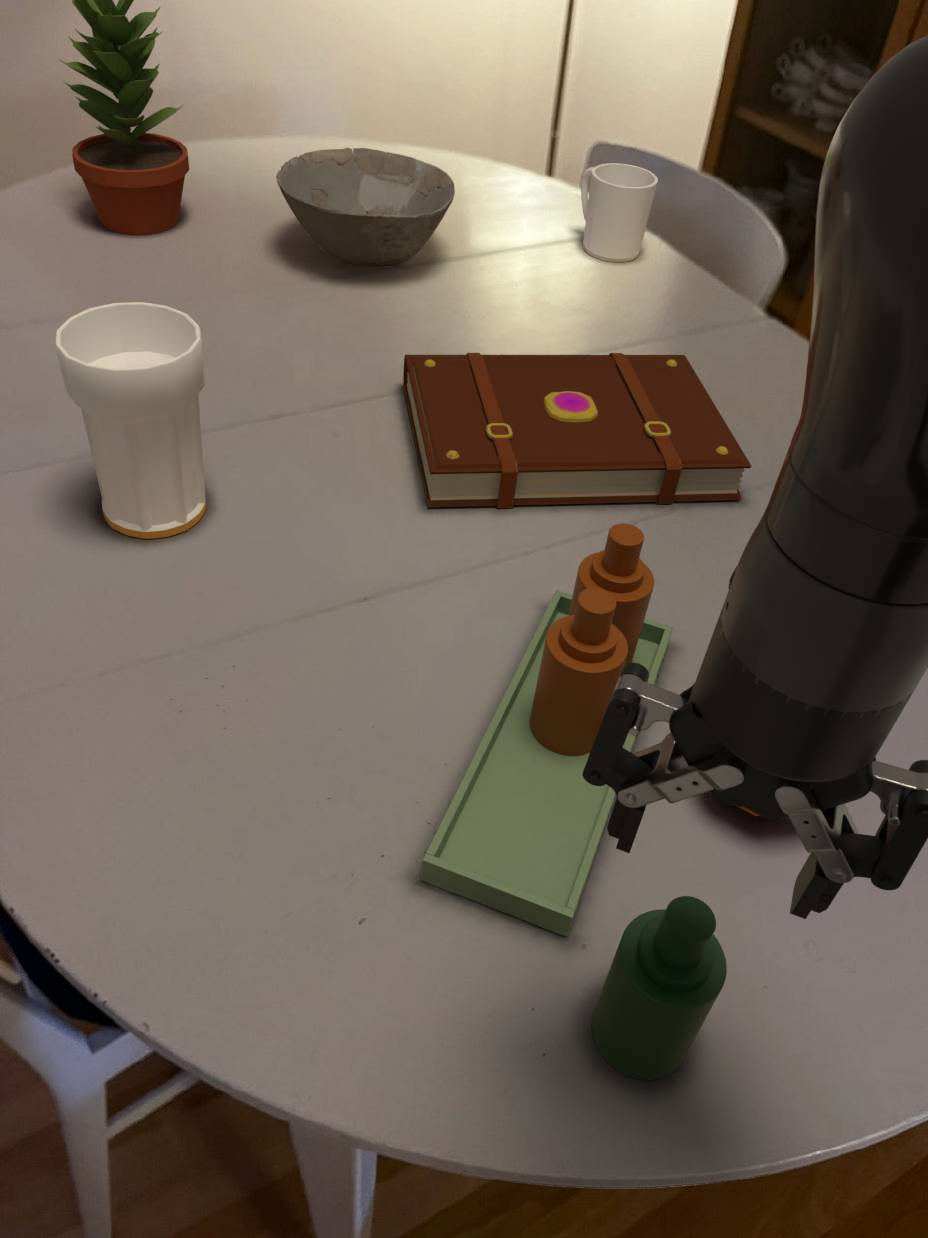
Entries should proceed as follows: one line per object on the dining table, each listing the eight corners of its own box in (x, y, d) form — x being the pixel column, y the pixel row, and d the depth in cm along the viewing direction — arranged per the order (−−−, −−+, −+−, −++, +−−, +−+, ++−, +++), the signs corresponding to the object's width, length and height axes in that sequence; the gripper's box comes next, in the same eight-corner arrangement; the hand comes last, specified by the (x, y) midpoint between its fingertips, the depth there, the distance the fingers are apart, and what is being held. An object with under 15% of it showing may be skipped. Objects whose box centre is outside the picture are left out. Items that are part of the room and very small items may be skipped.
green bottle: (706, 1058, 60) (770, 947, 51) (622, 1096, 58) (673, 987, 49) (655, 972, 64) (706, 855, 55) (574, 1005, 62) (614, 889, 53)
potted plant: (214, 207, 143) (193, -44, 122) (166, 249, 132) (134, -18, 111) (115, 188, 144) (78, -62, 124) (59, 229, 134) (9, -38, 113)
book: (740, 502, 102) (754, 461, 98) (428, 510, 97) (431, 467, 93) (673, 383, 118) (683, 344, 114) (402, 384, 113) (404, 343, 109)
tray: (566, 937, 65) (572, 918, 64) (420, 880, 67) (422, 859, 66) (667, 647, 86) (673, 626, 84) (552, 610, 88) (556, 589, 86)
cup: (104, 558, 88) (67, 379, 76) (79, 484, 95) (43, 310, 83) (233, 532, 92) (218, 358, 80) (200, 462, 99) (182, 293, 87)
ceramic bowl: (403, 311, 125) (407, 231, 118) (245, 262, 131) (240, 183, 124) (478, 249, 140) (486, 174, 133) (333, 207, 146) (333, 134, 139)
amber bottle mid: (619, 744, 77) (656, 618, 68) (551, 765, 75) (580, 638, 66) (582, 690, 80) (613, 564, 72) (516, 708, 78) (539, 582, 70)
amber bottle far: (644, 674, 82) (681, 550, 73) (581, 692, 80) (612, 566, 71) (608, 627, 86) (640, 503, 77) (548, 642, 84) (573, 517, 75)
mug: (654, 252, 144) (670, 178, 137) (618, 269, 139) (633, 193, 132) (592, 226, 149) (604, 153, 142) (555, 242, 144) (566, 167, 137)
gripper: (615, 634, 37) (549, 878, 48) (1023, 768, 34) (852, 994, 45) (661, 520, 42) (592, 763, 53) (1019, 627, 39) (866, 860, 50)
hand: (711, 869), depth 49 cm, fingers open, 8 cm apart
